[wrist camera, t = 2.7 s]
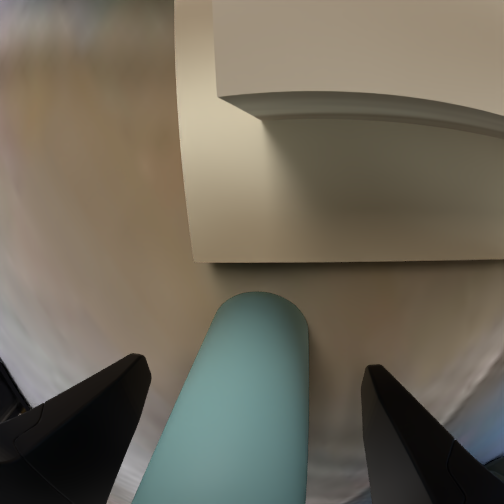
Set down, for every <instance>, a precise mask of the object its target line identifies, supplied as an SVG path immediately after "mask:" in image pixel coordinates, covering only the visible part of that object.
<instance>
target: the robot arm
mask: <svg viewBox="0 0 504 504" xmlns="http://www.w3.org/2000/svg"><path fill="white" fill-rule="evenodd" d="M150 383H151V372H150V370H149V367H148V364H147V361H146V358H145V357H144V356H143V355H141V354H135V353H132V354H129V355H127V356H126V357H124V358H122V359H121V360H119V361H117V362H115V363H114V364H112V365H110V366H108V367H107V368H105V369H103V370H101V371H100V372H98V373H96V374H94V375H93V376H91V377H89V378H87V379H86V380H84V381H82V382H80V383H78V384H77V385H75V386H73V387H71V388H70V389H68V390H66V391H64V392H62V393H61V394H59V395H57V396H55V397H53V398H51V399H50V400H48V401H46V402H45V404H44V403H42V404H40V405H39V406H37V407H35V408H33V409H31V410H30V409H29V407H28V406H27V404H26V403H25V401H24V400H23V398H22V397H21V395H20V394H19V392H18V391H17V389H16V388H15V386H14V384H13V383H12V381H11V379H10V378H9V376H8V374H7V373H6V371H5V369H4V367H3V366H2V364H1V362H0V504H106V503H107V500H108V497H109V495H110V492H111V490H112V487H113V484H114V482H115V479H116V477H117V474H118V472H119V469H120V467H121V464H122V462H123V459H124V457H125V454H126V452H127V449H128V447H129V444H130V442H131V440H132V437H133V435H134V432H135V430H136V428H137V425H138V423H139V420H140V417H141V414H142V410H143V407H144V403H145V400H146V396H147V393H148V390H149V386H150ZM361 401H362V421H363V440H364V447H365V453H366V460H367V467H368V474H369V482H370V490H371V498H372V504H504V482H503V481H502V480H501V479H499V478H498V477H497V476H495V475H494V474H493V473H492V472H490V471H489V470H488V469H487V468H485V467H484V466H483V465H482V464H481V463H480V462H478V461H477V460H476V459H475V458H474V457H473V456H472V455H471V454H470V453H469V452H468V451H467V450H466V449H465V448H463V446H462V445H461V444H460V443H459V442H458V441H457V440H454V437H453V436H452V435H451V434H450V433H449V432H448V431H447V430H446V429H445V428H444V427H443V426H442V425H441V424H440V423H439V422H438V421H437V420H436V419H435V418H434V417H433V416H432V415H431V414H430V413H429V412H428V411H427V410H426V409H425V408H424V407H423V406H422V405H421V404H420V403H419V402H418V401H417V400H416V399H415V398H414V397H413V396H412V395H411V394H410V393H409V392H408V391H407V390H406V389H405V388H404V387H403V386H402V385H401V384H400V383H399V382H398V381H397V380H396V379H395V378H394V377H393V376H392V375H391V374H390V373H389V372H388V371H387V370H386V369H385V368H384V367H383V366H382V365H380V364H376V365H368V366H367V367H366V369H365V373H364V377H363V381H362V386H361ZM20 413H21V415H19V414H20ZM18 415H19V416H18Z"/></svg>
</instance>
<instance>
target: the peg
mask: <svg viewBox="0 0 504 504" xmlns="http://www.w3.org/2000/svg"><path fill="white" fill-rule="evenodd" d="M308 431H309V342H308V326H307V322H306V320H305V318H304V316H303V314H302V313H301V312H300V310H299V309H298V308H297V307H296V306H295V305H294V304H292V303H291V302H290V301H288V300H286V299H285V298H283V297H280V296H278V295H275V294H272V293H267V292H247V293H242V294H239V295H236V296H234V297H232V298H230V299H229V300H227V301H226V302H225V303H223V304H222V305H221V307H220V308H219V309H218V311H217V312H216V314H215V317H214V319H213V321H212V323H211V325H210V328H209V330H208V332H207V334H206V336H205V339H204V341H203V343H202V345H201V348H200V350H199V352H198V354H197V356H196V359H195V361H194V363H193V365H192V368H191V370H190V372H189V374H188V377H187V379H186V381H185V383H184V386H183V388H182V390H181V392H180V394H179V397H178V399H177V401H176V403H175V406H174V408H173V410H172V412H171V415H170V417H169V419H168V421H167V424H166V426H165V428H164V431H163V433H162V435H161V437H160V440H159V442H158V444H157V446H156V449H155V451H154V453H153V455H152V458H151V460H150V462H149V465H148V467H147V469H146V471H145V474H144V476H143V478H142V481H141V483H140V485H139V487H138V490H137V492H136V494H135V497H134V499H133V501H132V504H305V501H306V484H307V463H308Z"/></svg>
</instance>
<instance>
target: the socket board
mask: <svg viewBox="0 0 504 504" xmlns="http://www.w3.org/2000/svg"><path fill="white" fill-rule="evenodd" d="M174 31H175V66H176V88H177V105H178V120H179V134H180V146H181V157H182V168H183V178H184V188H185V197H186V206H187V214H188V223H189V230H190V238H191V246H192V253H193V260H194V263H264V262H382V261H441V260H486V259H504V0H174Z"/></svg>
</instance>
